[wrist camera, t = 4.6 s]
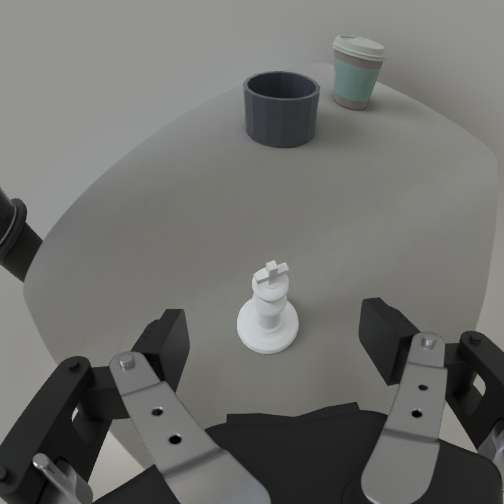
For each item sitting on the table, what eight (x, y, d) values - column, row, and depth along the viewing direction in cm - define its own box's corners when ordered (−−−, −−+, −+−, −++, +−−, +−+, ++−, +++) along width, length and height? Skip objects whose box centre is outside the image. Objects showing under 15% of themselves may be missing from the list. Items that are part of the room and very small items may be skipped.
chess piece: (308, 340, 21) (341, 291, 12) (249, 363, 20) (239, 331, 11) (284, 287, 23) (296, 212, 15) (228, 307, 22) (207, 240, 14)
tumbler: (250, 150, 33) (248, 102, 27) (242, 114, 37) (240, 73, 31) (323, 145, 33) (330, 100, 27) (304, 110, 38) (307, 71, 32)
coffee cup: (354, 90, 43) (364, 35, 32) (383, 113, 38) (398, 52, 28) (316, 92, 41) (322, 32, 31) (344, 116, 37) (356, 47, 27)
